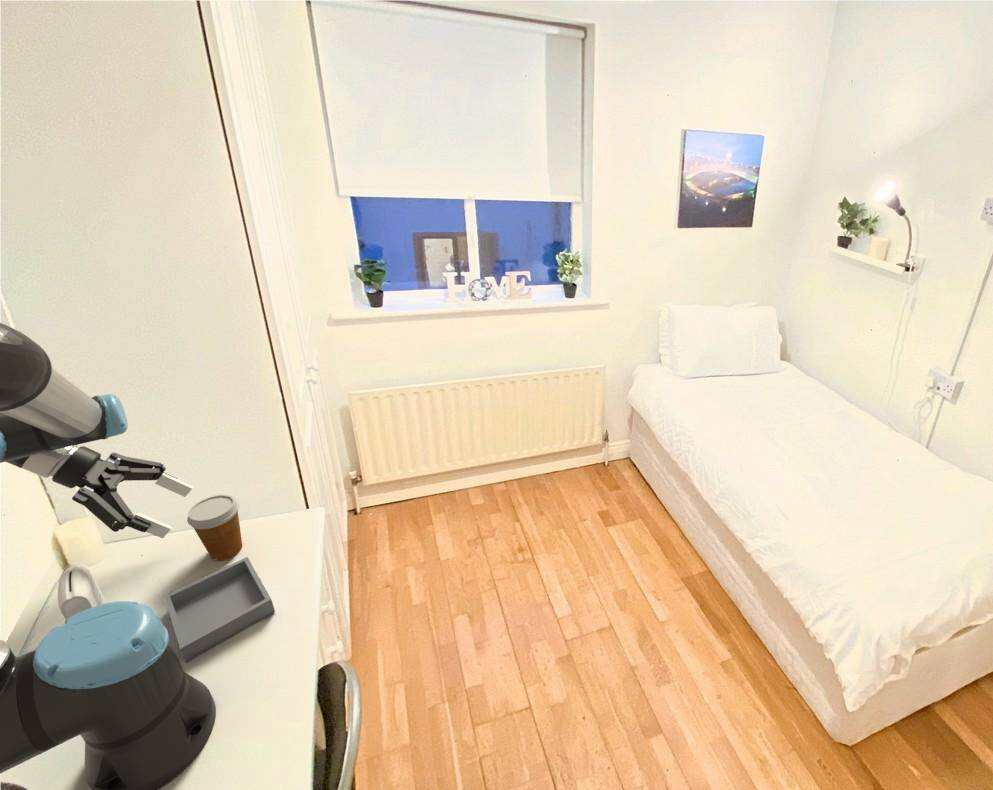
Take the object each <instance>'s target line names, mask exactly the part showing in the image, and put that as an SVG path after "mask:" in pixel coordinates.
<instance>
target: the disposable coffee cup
mask: <svg viewBox="0 0 993 790" xmlns="http://www.w3.org/2000/svg"><path fill="white" fill-rule="evenodd" d="M239 506H240V505H239V502H238V500H236V499H235V497H233V496H231V495H228V494H215V495H212V496H209V497H208V496H207V497H206V498H204V499H203V498H202V499H201V500H199V501H198V502H196V503H195V504H193V505H192V506H191V508H190V509H189V511H188V514H187V515H188V516H187V519H186V520H187V523H188V524H189V526H190V527H192V528H193V529H194V531H195V533H196V535H197V537H198V538H199V540H200V541H201V543H202V544H203V546H204V549H206V551H207V553H208V555H209V556H210V558H211V559H212V560H214V561H220V562H221V561H225V560H229V559H231V558H233V557H234V556H236V555H238V553H239V552H241V550H242V548H243V540H242V539H243V538H242V532H241V527H240V526H241V525H240V519H239V512H238V511H239V508H240V507H239Z"/></svg>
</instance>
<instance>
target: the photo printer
mask: <svg viewBox="0 0 993 790" xmlns="http://www.w3.org/2000/svg"><path fill="white" fill-rule="evenodd" d="M105 603H108V602H107V601H106V599H105V597H104V595H103V593H102V591H101V589H100V588H99V585H98V583H97V582H96V579H95V577H94V576H93V574H92V572H91V570H90V569H89V568H88V567H87V566H86V565H83V564H76V565H73V566H71V567H68V568H66V569H65V571H64V572H63V573H62V574H61V576H60V579H59V581H58V586H57V604H58V609H59V611H60V613H61V614H62V616H63V618H64V619H65V620H67V619H68V618H70V617H72V616H73V615H75V614H77V613H79V612H82V611H84V610H86V609H89V608H92V607H95V606H98V605H102V604H105Z"/></svg>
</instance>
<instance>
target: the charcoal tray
mask: <svg viewBox="0 0 993 790" xmlns="http://www.w3.org/2000/svg"><path fill="white" fill-rule="evenodd" d="M163 597H164V601H165V603H166V606H167V610H168V614H169V617H170V620H171V624H172V626H173V630H174V633H175V636H176V640H177V642H178V643H177V644H178V646H179V649H180V651H181V654H182V656H183V658H184V661H185V663H188V662H191V661H192V660H194V659H196V658H197V657H199V656H201V655H203V654H205V653H206V652H208V651H210V650H212V649H214V648H215V647H217V646H219V645H221V644H222V643H224V642H226V641H227V640H229V639H230V638H233V637H235V636H236V635H237V634H240V633H241V632H244V631H245V630H247V629H248V628H250V627H252V626H254V625H256V624H257V623H259V622H262V619H263V620H264V618H265V619H266V618H268V617H270V616H272V615H273V614H275V613H276V610H275V607H274V603H273V600H272V598H271V596H270V594H269V593H268V590H267V589H266V587H265V585H264V584H263V582H262V580H261V578H260V576H259V575H258V573H257V571H256V570H255V568H254V566H253V565H252V562H251V561H250V558H249V557H248V556H246V557H244V558H242V559H240V560H237V561H236V562H234V563H233V562H232V563H231V564H229V565H227V566H225V567H223V568H221V569H219V570H217V571H215V572H212V573H210V574H208V575H206V576H204V577H202V578H200V579H198V580H195V581H192V582H191V583H189V584H187V585H185V586H182V587H180V588H178V589H176V590H174V591H172V592H170V593H168V594H166V595H164V596H163ZM274 612H275V613H274ZM272 613H273V614H272ZM271 614H272V615H271ZM269 615H270V616H269Z"/></svg>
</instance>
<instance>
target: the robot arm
mask: <svg viewBox="0 0 993 790" xmlns="http://www.w3.org/2000/svg"><path fill="white" fill-rule="evenodd" d="M127 418H128V417H127V415H126V411H125V408H124V406H123V404H122V402H121V400H120V398H119V397H118V396H117V395H115V394H112V393H110V394H104V395H103V394H102V395H99V394H97V395H94V396H92V397H91V396H90V395H88V394H87V393H86V392H84V390H82V389H80V388H79V387H78V386H76V384H74V383H73V382H71V381H70V380H68V378H67V377H66V376H64V375H63V374H61V373H59V372H58V371H57V370H56V369H54V368H53V365H52V361H51V359H50V356H49V355H48V353H47V351H45V350H44V349H43V347H41V345H40V344H38V343H36V341H34V340H33V339H32V338H30V337H29V336H28V335H26V334H24V333H22V332H21V331H20V330H17V329H15V328H13V327H11V326H9V325H7V324H5V323H2V322H0V464H1V463H7V464H9V465H10V464H11V466H15V467H16V468H17V467H18V468H19V469H23V470H26V471H28V472H29V473H33V474H35V475H38V476H40V477H42V478H45V479H49V478H50V477H52V478H51V480H52V482H53V483H55V484H58V485H61V486H63V487H66V488H68V489H74V488H75V487H78V490H77V491H76V492H75V494H74V495H73V496H72V497H71V500H72V501H73V502H76V503H77V504H79V505H82V506H84V508H86V509H87V510H88V511H89V512H90V513H91V514H93V515H94V516H95V517H96V518H97V519H98V520H100V521H101V522H102V523H103V524H104V525H105V526H106V527H107V528H109V529H110V530H111V531H112V532H114V533H117V532H119V531H121V530H124V529H125V528H126V527H128V528H131V529H134V530H136V531H139V532H142V533H148V534H150V535H153V536H156V537H158V538H161V539H164V538H165V537H166V536H167V534H169V532H170V531H171V530H172V529H173V526H172V525H169V524H167V523H165V522H162V521H160V520H157V519H155V518H153V517H150V516H148V515H145V514H144V513H143V514H142V513H140V512H137V513H135V515H134V513H133V512H132V511H131V509H130V508H129V507H128V505H127V503H126V502H125V501H124V499H123V498H122V497H121V495H120V494H119V492H118V488H117V487H118V486H119V484H121V483H122V482H125V481H126V482H127V481H129V482H130V481H132V482H133V481H156V482H155V483H154V484H155V485H157V486H158V487H161V488H163V489H166V490H168V491H171V492H173V493H175V494H178V495H179V496H181V497H184V498H186V496H188V494H189V493H190V492H191V491H192V490H193V488H194V486H193V485H190V484H189V483H186V482H184V481H182V480H180V479H178V478H177V477H175V476H173V475H170V474H168V473H166V472H165V471H166V470H167V468H166V467H165V466H164V465H165V464H164V463H162V462H159V461H152V460H147V459H141V458H136V457H130V456H125V455H122V454H119V453H117V452H114V451H113V452H111V453H110V455H109V456H108V457H107V458H106V459H102V458H101V457H102V454H101V453H100V452H98V451H95V450H94V449H91V448H89V447H87V446H85V445H83V446H80V447H78V445H82V444H86V443H90V442H95V441H99V440H100V441H101V440H103V441H104V440H107V439H109V438H112V437H115V436H118V435H122V434H124V433H126V432H127V430H128V426H129V425H128V419H127ZM161 463H162V464H161ZM216 717H217V707H216V702H215V700H214V698H213V695H212V693H211V691H210V689H209V688H208V687H207V685H206V684H204V683H203V682H202V681H200V680H198V679H197V678H195V677H193V676H192V675H190V674H189V673H187V672H186V671H185V670H184V668H183V666H182V664H181V662H180V659H179V657H178V655H177V653H176V650H175V648H174V646H173V643H172V641H171V639H170V636H169V632H168V629H167V627H166V626H165V624H163V622H162V621H161V620H160V618H159V617H158V615H157V613H156V612H155V611H154V610H153V609H152V608H151V607H150V606H148V605H146V604H143V603H138V602H136V601H130V600H129V601H128V600H120V601H119V600H118V601H112V602H107V603H105V604H102V605H98V606H95V607H92V608H89V609H86V610H84V611H82V612H79V613H77V614H75V615H73V616H72V617H70V618H68V619H67V620H66V619H65V620H64V624H63V625H57V626H55V627H54V628H52V629H51V630H50V631H49V632H48V633H47V634H45V636H44V637H43V638H42V639H41V641H40V643H38V645H37V647H36V649H34V650H33V651H30V652H27V653H25V654H22V655H19V656H16V655H15V654H14V653H13V651H12V649H11V648H10V646H9V644H8V643H7V642H6V641H4V640H2V639H0V774H2V773H4V772H6V771H8V770H11V769H12V768H15V767H17V766H18V765H21V764H23V763H25V762H27V761H29V760H32V759H33V758H35V757H38V756H39V755H42V754H44V753H46V752H48V751H49V750H51V749H53V748H56V747H57V746H60V745H61V744H64V743H65V742H67V741H70V740H71V739H73V738H75V737H79V736H80V737H81V738H82V739H83V741H84V776H85V779H86V782H87V784H88V786H89V787H90V788H91V790H159V789H161V788H162V787H164V786H165V785H168V784H169V783H170V782H171V781H172V780H174V779H176V777H178V776H179V775H180V774H181V773H182V772H183V771H184V770H186V768H187V767H189V765H190V764H191V763H192V762H193V761H194V760H195V758H197V756H198V755H199V753H201V751H202V750H203V748H204V746H205V745H206V743H207V741H208V740H209V738H210V735H211V733H212V731H213V728H214V725H215V722H216Z"/></svg>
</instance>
